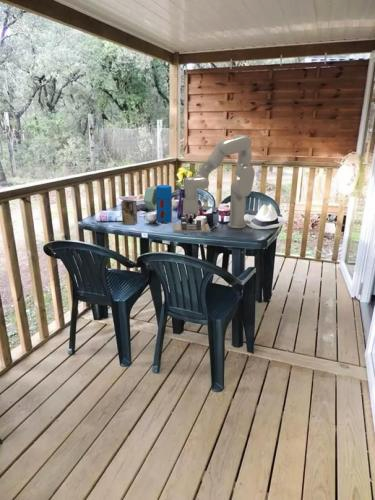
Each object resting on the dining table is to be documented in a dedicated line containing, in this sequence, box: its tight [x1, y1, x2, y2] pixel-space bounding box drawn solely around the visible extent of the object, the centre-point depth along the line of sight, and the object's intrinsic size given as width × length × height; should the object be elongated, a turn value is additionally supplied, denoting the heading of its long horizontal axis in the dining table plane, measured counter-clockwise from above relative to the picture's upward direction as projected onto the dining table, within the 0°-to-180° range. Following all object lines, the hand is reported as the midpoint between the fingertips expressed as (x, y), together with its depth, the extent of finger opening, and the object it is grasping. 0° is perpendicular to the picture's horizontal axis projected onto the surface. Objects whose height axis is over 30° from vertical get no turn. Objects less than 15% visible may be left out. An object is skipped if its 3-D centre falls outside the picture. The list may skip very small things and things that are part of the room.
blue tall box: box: [156, 184, 173, 224], centre depth 250 cm, size 11×11×25 cm
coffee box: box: [120, 199, 138, 226], centre depth 245 cm, size 9×6×16 cm
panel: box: [172, 222, 211, 234], centre depth 237 cm, size 24×16×2 cm, turn 94°
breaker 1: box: [180, 216, 187, 224], centre depth 241 cm, size 3×2×4 cm
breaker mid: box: [195, 219, 202, 227], centre depth 236 cm, size 3×2×4 cm
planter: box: [143, 185, 157, 211], centre depth 285 cm, size 17×8×21 cm
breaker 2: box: [182, 222, 187, 229], centre depth 230 cm, size 3×2×4 cm
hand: (190, 223), depth 236 cm, fingers closed
